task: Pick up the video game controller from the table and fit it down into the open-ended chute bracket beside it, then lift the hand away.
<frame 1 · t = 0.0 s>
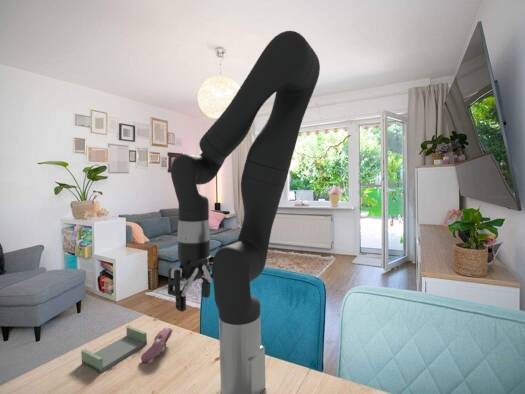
hand: (194, 303, 66), 17 cm above the table, tool pointing down, fingers open, 8 cm apart
video game controller: (158, 352, 75), on the table
chute bracket: (116, 353, 75), on the table
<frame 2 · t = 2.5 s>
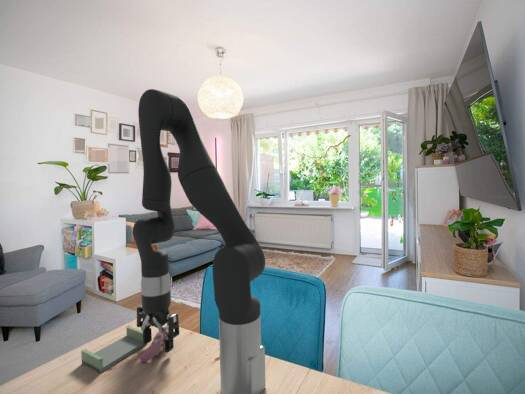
hand: (158, 346, 75), 1 cm above the table, tool pointing down, fingers open, 8 cm apart
nothing on the table moved.
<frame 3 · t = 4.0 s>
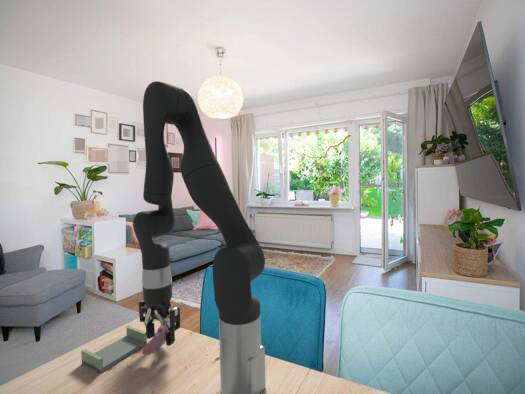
hand: (160, 340, 75), 3 cm above the table, tool pointing down, fingers closed on video game controller, 7 cm apart
video game controller: (160, 346, 75), point 2 cm above the table, touching gripper
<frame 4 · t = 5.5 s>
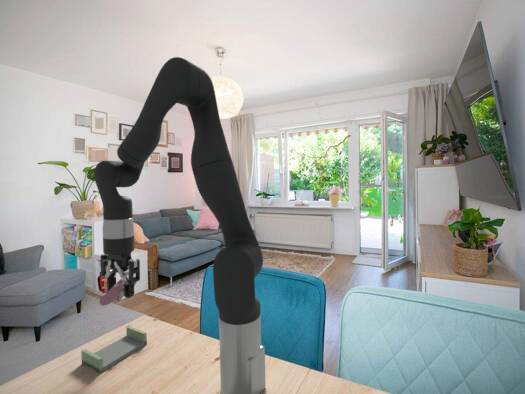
hand: (120, 293, 74), 17 cm above the table, tool pointing down, fingers closed on video game controller, 7 cm apart
video game controller: (120, 299, 74), point 15 cm above the table, touching gripper
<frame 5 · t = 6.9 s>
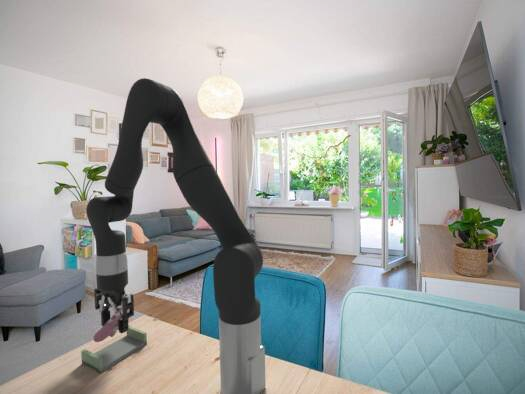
hand: (114, 328, 74), 7 cm above the table, tool pointing down, fingers closed on video game controller, 7 cm apart
video game controller: (114, 333, 74), point 6 cm above the table, touching gripper
when the fingers open (3 cm above the table, at t = 8.1 s): video game controller stays where it is, resting on chute bracket.
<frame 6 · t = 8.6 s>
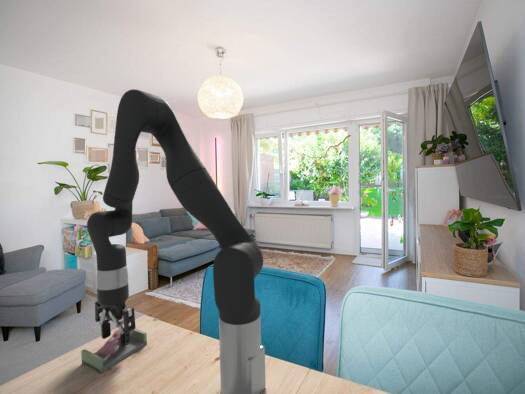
hand: (115, 341, 74), 4 cm above the table, tool pointing down, fingers open, 8 cm apart
video game controller: (116, 351, 74), point 1 cm above the table, touching chute bracket
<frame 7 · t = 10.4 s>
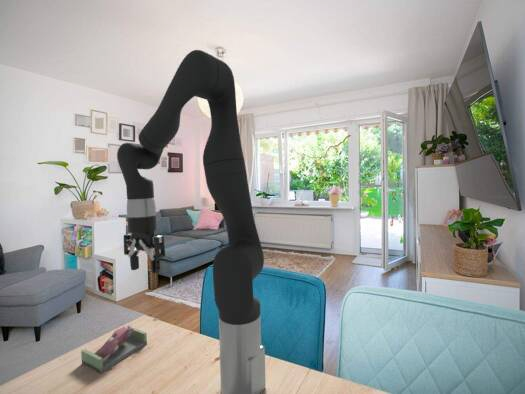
hand: (145, 271, 77), 22 cm above the table, tool pointing down, fingers open, 8 cm apart
nothing on the table moved.
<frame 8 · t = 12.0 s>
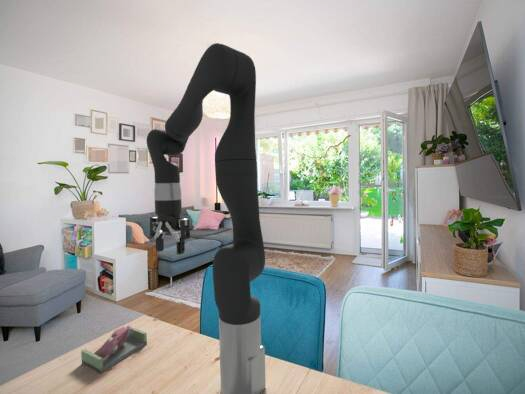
hand: (170, 252, 81), 26 cm above the table, tool pointing down, fingers open, 8 cm apart
nothing on the table moved.
at the end: video game controller 0.3 cm off-centre on the chute bracket, point 0.8 cm above the chute bracket's base; video game controller touching chute bracket; the gripper is holding nothing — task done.
